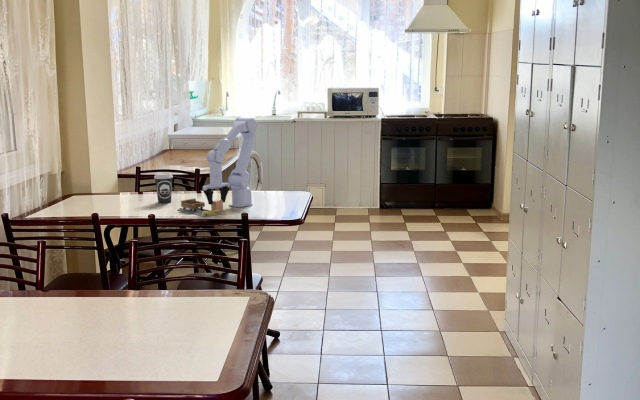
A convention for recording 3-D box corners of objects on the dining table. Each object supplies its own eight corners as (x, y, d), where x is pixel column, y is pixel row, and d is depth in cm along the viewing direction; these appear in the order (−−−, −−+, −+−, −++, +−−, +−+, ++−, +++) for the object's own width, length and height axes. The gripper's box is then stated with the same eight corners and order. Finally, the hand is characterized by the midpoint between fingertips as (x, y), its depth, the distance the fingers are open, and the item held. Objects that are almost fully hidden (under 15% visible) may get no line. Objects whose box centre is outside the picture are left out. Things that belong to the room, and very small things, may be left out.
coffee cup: (178, 201, 353) (176, 172, 350) (166, 204, 345) (165, 175, 342) (163, 200, 357) (161, 171, 354) (151, 203, 348) (149, 174, 346)
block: (218, 209, 331) (217, 199, 330) (223, 210, 329) (222, 200, 328) (211, 210, 329) (211, 200, 328) (216, 211, 326) (216, 201, 325)
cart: (195, 206, 334) (194, 198, 333) (204, 208, 329) (204, 200, 328) (181, 208, 329) (180, 200, 328) (191, 211, 323) (190, 202, 322)
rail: (192, 207, 336) (192, 204, 336) (221, 214, 321) (221, 210, 320) (177, 210, 330) (177, 206, 330) (206, 216, 314) (206, 213, 314)
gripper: (222, 172, 333) (223, 200, 336) (198, 176, 323) (199, 204, 325) (231, 174, 328) (232, 202, 331) (207, 177, 318) (208, 206, 321)
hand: (216, 203), depth 328 cm, fingers open, 7 cm apart
